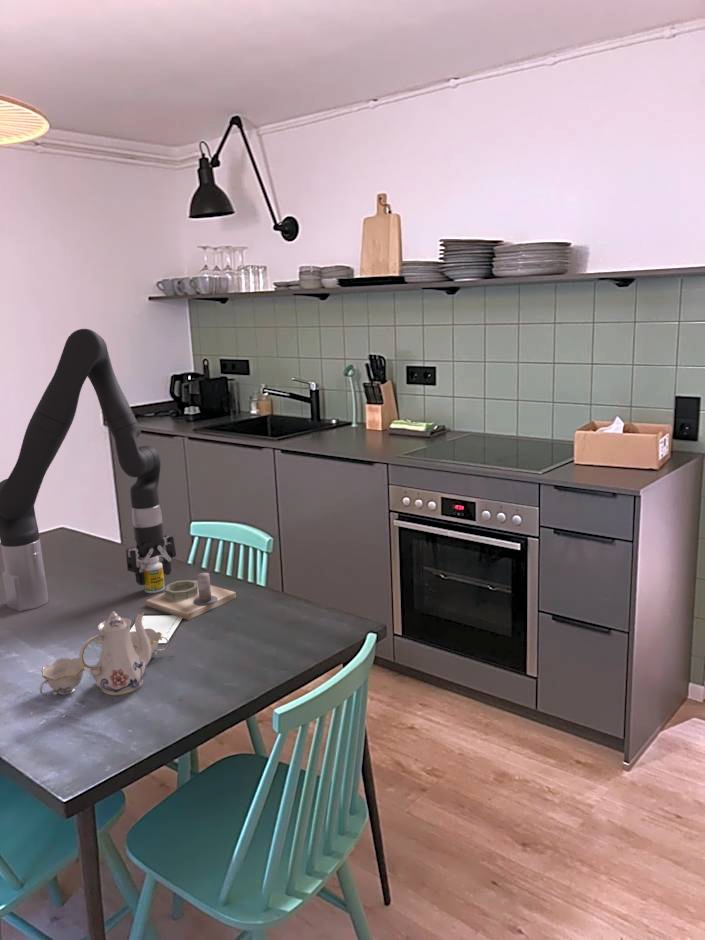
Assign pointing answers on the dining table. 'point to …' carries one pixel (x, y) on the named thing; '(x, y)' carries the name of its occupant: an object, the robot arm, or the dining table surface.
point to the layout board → (190, 597)
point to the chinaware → (109, 659)
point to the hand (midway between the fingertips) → (154, 579)
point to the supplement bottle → (153, 575)
